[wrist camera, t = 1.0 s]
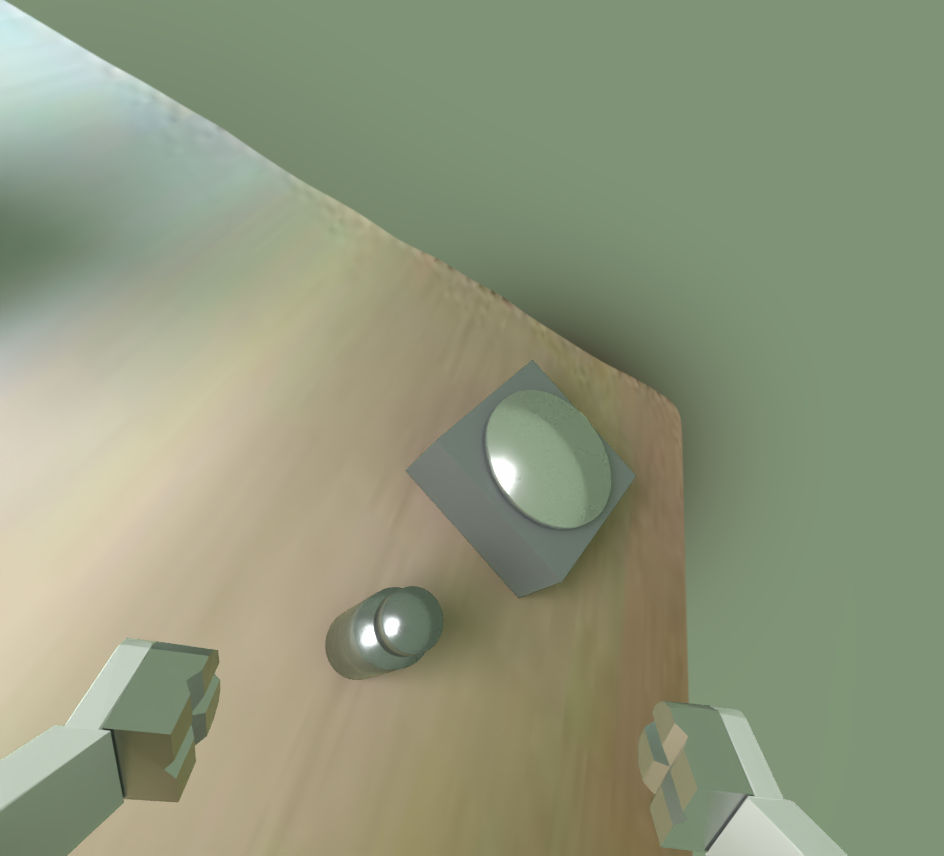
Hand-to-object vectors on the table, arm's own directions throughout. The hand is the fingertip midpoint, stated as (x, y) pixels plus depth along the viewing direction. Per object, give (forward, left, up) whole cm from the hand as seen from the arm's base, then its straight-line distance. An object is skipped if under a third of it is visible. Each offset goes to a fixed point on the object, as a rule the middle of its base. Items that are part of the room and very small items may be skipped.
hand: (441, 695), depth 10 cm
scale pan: (+2, +28, -23) cm, 37 cm away
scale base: (+2, +28, -29) cm, 41 cm away
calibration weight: (+2, +9, -30) cm, 31 cm away
